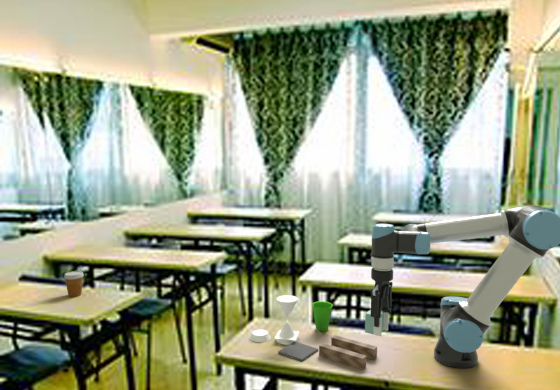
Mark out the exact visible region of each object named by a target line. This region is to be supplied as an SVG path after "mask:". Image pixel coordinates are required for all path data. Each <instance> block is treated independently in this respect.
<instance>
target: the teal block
mask: <svg viewBox="0 0 560 390" xmlns="http://www.w3.org/2000/svg"><path fill="white" fill-rule="evenodd" d="M364 317H365V320H364V322H365V323H364V333H366V334H369V335H374V334H373V329H374V317H371V309H370V310H368V311H367V312H365V316H364ZM381 317H382V333H383V332H384V330H383V329H384V312H381ZM374 336H375V335H374ZM376 336H378V335H376Z"/></svg>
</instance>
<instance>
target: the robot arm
mask: <svg viewBox="0 0 560 390" xmlns="http://www.w3.org/2000/svg"><path fill="white" fill-rule="evenodd" d="M404 226H405V227H403V229H402V230H396V229H395V226H394V224H391V223H390V224H389V223H376V224H373V226H372V232H371V257H370V261H371V267H372V268H370V270H371V271H370V275H371V276H370V278H371V279H372V280H373V281H374V288H373V289H370V310H371V317H374V329H373V334H374V336H377V335H378V336H379V337H382V333H383V332H382V317H381V312H384V329H383V331H387V332H388V331H389V316H390V315H389V313H392V304H393V303H392V301H393V300H392V298H393V296H392V295H393V290H392V289H393V282H392V281H393V279H394V270H393V268H394V267H395V264H394V262H395V261H394V260H395V258H394V256H395V255H394V254H395V253H400V254H414V255H429V253H430V252H431V244H438V243H447V242H455V241H461V240H462V241H464V240H471V239H473V240H474V239H480V238H487V237H496V236H504V237H506V238H508V244H507V246H506V247H505V248H504V250H503V251H502V252H501V254H499V256H498V258H497V259H496V260H495V262H494V263H493V264H492V266H491V267H490V268H489V269H488V270H487V272H486V273H485V275H484V276H483V278H482V279H481V281H479V283H478V285H477V286H476V287H475V289H474V290H473V291H472V292H471V294H470V295H469V296H468V297H462V296H444V297H442V298H441V301H440V317H439V318H440V321H439V322H440V323H439V336H438V340H437V342H436V344H435V348H433V349H434V351H433V357H434V359H435V360H436V361H437V362H439V363H440V364H443V365H445V366H447V367H452V368H456V369H457V368H458V369H469V368H474V367H476V366H477V365H478V362H479V361H478V360H479V355H478V351H477V350H479V348H481V346H482V344H483V341H484V334H485V333H486V331H487V330H488V329H489V328H490V326H491V324H492V322H491V316H493V314H494V312H495V311H496V310H497V308H499V306H500V305H501V303H502V302H503V300H504V299H505V298H506V297H507V295H508V294H509V293H510V292H511V290H512V289H513V288H514V287H515V286H516V284H517V282H518V281H519V280H520V279H521V277H522V276H523V275H524V273H525V272H526V271H527V270H528V268H530V266H531V264H533V262H534V260H536V259H541V258H543V257H544V256H546V254H547V252H548V251H549V250H550V249H555V248H556V247H558V246H559V245H560V216H559V215H558V214H556V212H554V211H553V210H550V209H547V208H545V207H542V206H540V205H536V204H533V205H531V204H529V205H524V206H519V207H512V208H507V209H501V210H500V211H499V213H492V214H484V215H477V216H472V217H471V216H470V217H464V218H458V219H457V218H456V219H449V220H441V221H435V222H434V221H433V222H428V223H420V224H416V223H409V224H407V225H404ZM373 334H372V335H373Z"/></svg>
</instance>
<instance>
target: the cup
mask: <svg viewBox="0 0 560 390" xmlns="http://www.w3.org/2000/svg"><path fill="white" fill-rule="evenodd" d="M311 307H312V310H313V318H314V324H315V330H316V329H317V330H318V331H317V330H316V331H317V332H320V331H322V333H324V332H327V331H329V326H330V320H331V314H332V309H333V307H334V304H332V303H331V302H329V301H323V300H322V301H319V300H318V301H315V302H312V303H311Z"/></svg>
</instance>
